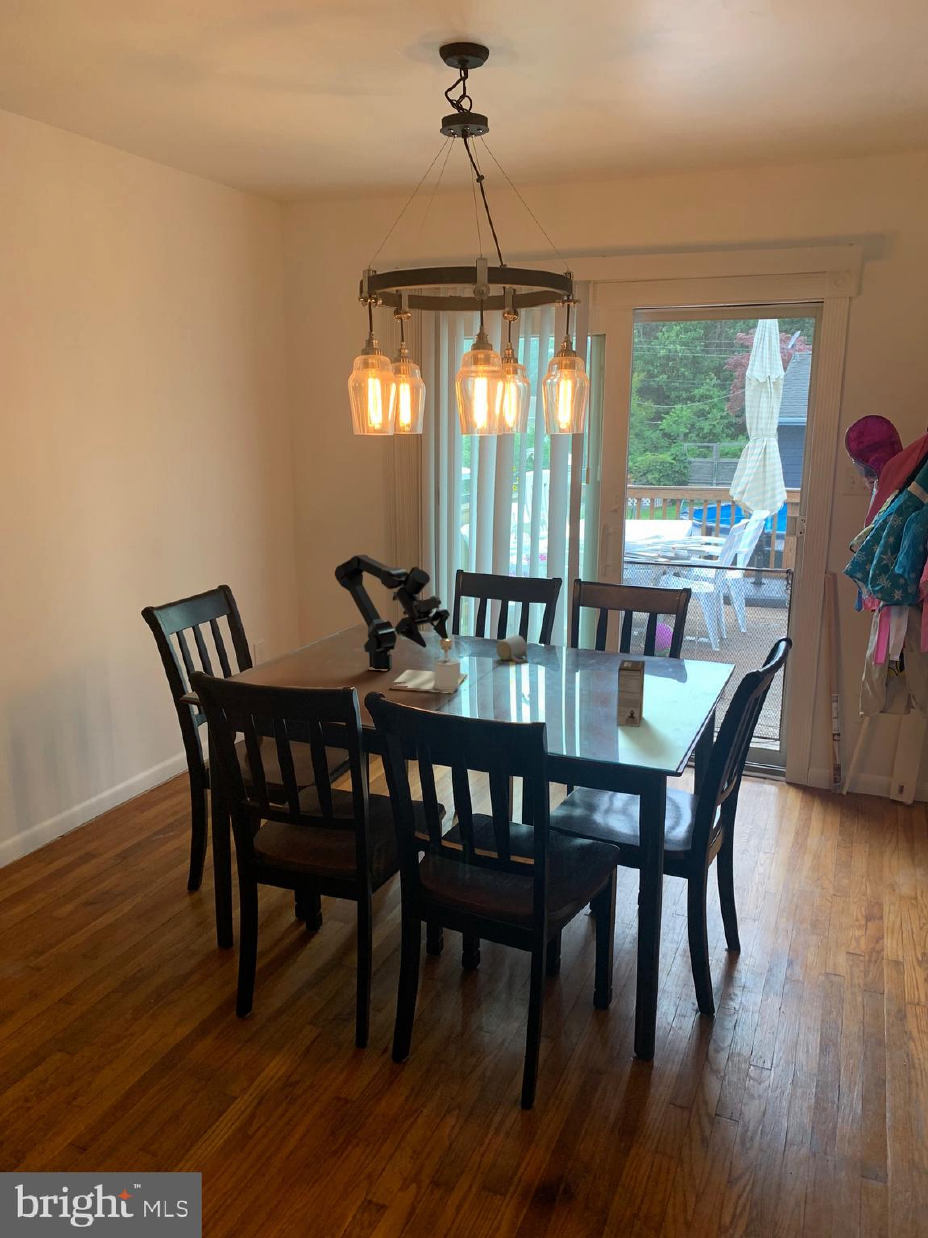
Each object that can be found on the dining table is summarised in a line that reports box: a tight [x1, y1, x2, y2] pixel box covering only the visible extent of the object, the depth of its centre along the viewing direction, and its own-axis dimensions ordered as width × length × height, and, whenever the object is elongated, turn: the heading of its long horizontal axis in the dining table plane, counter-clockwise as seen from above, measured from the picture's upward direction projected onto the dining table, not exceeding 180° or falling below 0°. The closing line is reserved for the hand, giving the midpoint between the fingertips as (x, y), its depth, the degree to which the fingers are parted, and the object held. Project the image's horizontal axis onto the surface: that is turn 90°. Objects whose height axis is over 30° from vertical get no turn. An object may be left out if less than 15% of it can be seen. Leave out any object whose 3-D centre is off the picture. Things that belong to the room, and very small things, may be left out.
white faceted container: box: [433, 657, 461, 690], centre depth 270 cm, size 9×8×8 cm
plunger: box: [439, 638, 453, 662], centre depth 269 cm, size 5×5×9 cm
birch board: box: [393, 669, 468, 694], centre depth 277 cm, size 20×18×1 cm
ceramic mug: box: [496, 634, 529, 664], centre depth 302 cm, size 11×8×8 cm
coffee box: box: [616, 659, 646, 728], centre depth 241 cm, size 9×6×16 cm
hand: (436, 644), depth 271 cm, fingers open, 9 cm apart
